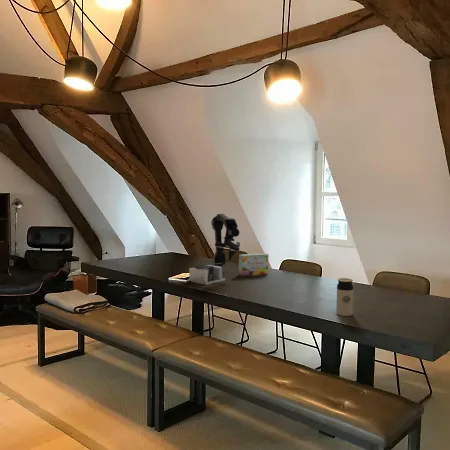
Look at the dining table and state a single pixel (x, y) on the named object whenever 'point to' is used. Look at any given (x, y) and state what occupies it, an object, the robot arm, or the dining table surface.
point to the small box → (210, 271)
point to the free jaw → (217, 272)
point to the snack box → (253, 264)
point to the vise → (201, 276)
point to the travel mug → (344, 297)
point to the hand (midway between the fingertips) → (224, 259)
